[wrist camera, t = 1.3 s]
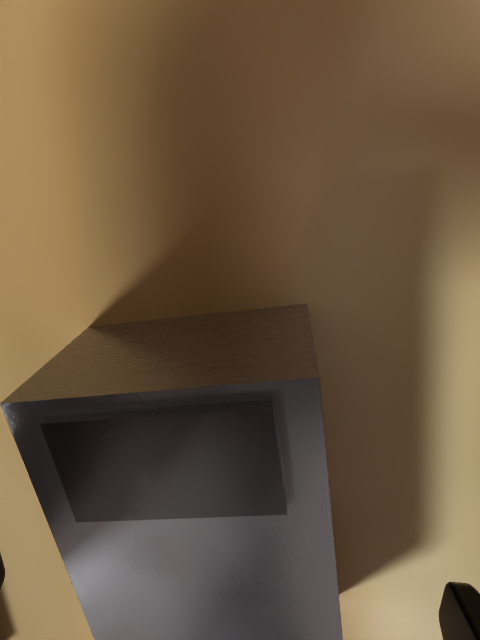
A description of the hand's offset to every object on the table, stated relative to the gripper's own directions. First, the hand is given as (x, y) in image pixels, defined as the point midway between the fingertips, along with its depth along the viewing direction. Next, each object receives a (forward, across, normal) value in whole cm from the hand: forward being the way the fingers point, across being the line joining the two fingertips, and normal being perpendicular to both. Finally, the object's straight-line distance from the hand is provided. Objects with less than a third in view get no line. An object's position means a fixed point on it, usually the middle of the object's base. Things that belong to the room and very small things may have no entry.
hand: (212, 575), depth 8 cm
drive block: (+3, 0, 0) cm, 3 cm away
